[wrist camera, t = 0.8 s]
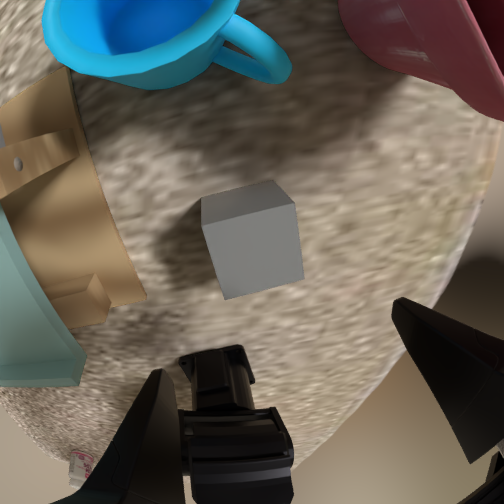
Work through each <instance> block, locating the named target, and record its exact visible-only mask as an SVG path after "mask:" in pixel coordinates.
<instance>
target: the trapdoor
mask: <svg viewBox="0 0 504 504" xmlns="http://www.w3.org/2000/svg"><path fill="white" fill-rule="evenodd" d="M3 147H6V145H5V141H4V137H3V133H2V129H1V124H0V148H3ZM86 358H87V354H86V353H85V352H84V350H83V349H82V348H81V346H80V345H79V344H78V342H77V341H76V340H75V338H74V337H73V336H72V334H71V333H70V332H69V330H68V329H67V327H66V326H65V324H64V323H63V321H62V320H61V319H60V317H59V316H58V314H57V313H56V311H55V309H54V308H53V306H52V305H51V303H50V302H49V300H48V298H47V297H46V295H45V293H44V292H43V290H42V288H41V287H40V285H39V283H38V281H37V280H36V278H35V276H34V274H33V273H32V271H31V269H30V267H29V265H28V263H27V261H26V259H25V257H24V255H23V253H22V251H21V249H20V247H19V245H18V243H17V241H16V239H15V237H14V234H13V232H12V230H11V228H10V225H9V223H8V221H7V218H6V216H5V213H4V211H3V208H2V206H1V203H0V387H67V386H79V383H80V379H81V375H82V372H83V368H84V365H85V361H86Z"/></svg>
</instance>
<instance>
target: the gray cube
mask: <svg viewBox="0 0 504 504" xmlns="http://www.w3.org/2000/svg"><path fill="white" fill-rule="evenodd" d="M201 226H202V230H203V233H204V236H205V240H206V243H207V246H208V249H209V253H210V256H211V259H212V262H213V265H214V268H215V272H216V275H217V278H218V281H219V284H220V287H221V290H222V293H223V296H224V299H225V300H228V299H232V298H236V297H239V296H243V295H247V294H251V293H255V292H259V291H263V290H266V289H270V288H274V287H277V286H281V285H285V284H288V283H292V282H296V281H299V280H303V279H304V270H303V262H302V253H301V245H300V237H299V229H298V222H297V215H296V207H295V203H294V201H293V200H292V199H291V198H290V197H289V196H288V195H287V194H286V193H285V192H284V191H283V190H282V189H281V188H280V187H279V186H278V185H277V183H276V182H275V181H274V180H270V181H266V182H261V183H257V184H253V185H248V186H244V187H240V188H236V189H232V190H228V191H224V192H220V193H216V194H212V195H209V196H205V197H201Z"/></svg>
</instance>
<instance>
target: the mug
mask: <svg viewBox="0 0 504 504" xmlns="http://www.w3.org/2000/svg"><path fill="white" fill-rule="evenodd" d="M239 2H240V0H46V2H45V6H44V11H43V16H42V27H43V33H44V39H45V43H46V45H47V46H48V48H49V49H50V51H51V52H52V53H53V55H54V56H55V58H56V59H57V61H59V62H60V63H62V64H64V65H66V66H68V67H69V68H71V69H73V70H75V71H76V72H78V73H81V74H85V75H90V76H94V77H98V78H102V79H106V80H109V81H113V82H117V83H120V84H124V85H127V86H131V87H136V88H140V89H145V90H157V89H169V88H172V87H174V86H177V85H180V84H183V83H186V82H188V81H190V80H191V79H193V78H194V77H196V76H198V75H199V74H201V73H202V72H204V71H205V70H206V69H207V68H208V67H209V65H210V64H211V63H212V62H214V63H216V64H219V65H221V66H223V67H226V68H228V69H230V70H233V71H235V72H237V73H240V74H242V75H245V76H247V77H250V78H253V79H255V80H258V81H262V82H265V83H268V84H281V83H283V82H285V81H286V80H287V79H288V77H289V75H290V74H291V72H292V64H291V62H290V60H289V58H288V56H287V54H286V52H285V51H284V50H283V49H282V48H281V47H280V46H279V45H278V44H277V43H276V42H275V41H274V40H273V39H272V38H271V37H270V36H268V35H267V34H266V33H264V32H263V31H262V30H260V29H259V28H258V27H256V26H255V25H253V24H252V23H250V22H249V21H247V20H246V19H244V18H242V17H240V16H238V15H236V14H235V12H236V10H237V7H238V5H239ZM225 40H227V41H229V42H231V43H232V44H234V45H235V46H237V47H239V48H240V49H242V50H243V51H245V52H246V53H248V54H249V55H251V56H252V57H254V58H255V59H254V58H251V57H248V56H245V55H243V54H241V53H238V52H236V51H233V50H231V49H229V48H226V47H224V46H223V44H224V41H225Z"/></svg>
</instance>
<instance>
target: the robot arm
mask: <svg viewBox="0 0 504 504" xmlns="http://www.w3.org/2000/svg"><path fill="white" fill-rule="evenodd" d="M391 316H392V321H393V323H394V325H395V327H396V329H397V331H398V333H399V335H400V337H401V339H402V341H403V343H404V345H405V347H406V349H407V351H408V352H409V354H410V356H411V357H412V359H413V361H414V362H415V364H416V366H417V367H418V369H419V371H420V372H421V374H422V375H423V377H424V379H425V381H426V382H427V384H428V386H429V387H430V389H431V391H432V393H433V394H434V396H435V398H436V400H437V401H438V403H439V405H440V407H441V409H442V410H443V412H444V414H445V416H446V418H447V420H448V421H449V424H450V425H451V427H452V429H453V431H454V433H455V435H456V437H457V439H458V441H459V443H460V445H461V447H462V449H463V451H464V453H465V455H466V458H467V460H468V462H469V463H470V464H471V463H473V462H474V461H476V460H477V459H479V458H480V457H481V456H482V455H484V454H485V453H487V452H488V451H489V450H490V449H492V448H493V447H494V446H495V445H496V446H497V447H498V449H499V451H498V452H497V453H496V454H494V455H493V456H492V459H491V463H490V467H489V471H488V475H487V477H486V482H485V483H484V484H483V485H481V486H480V487H479V488H478V489H476V490H475V491H474V492H472V493H471V494H470V495H468V496H467V497H466V498H464V499H463V500H462V501H460V502H459V503H457V504H504V340H501V339H499V338H496V337H493V336H491V335H488V334H486V333H484V332H481V331H479V330H477V329H474V328H472V327H470V326H468V325H466V324H464V323H461V322H459V321H457V320H455V319H453V318H450V317H448V316H446V315H443V314H441V313H439V312H437V311H435V310H432V309H430V308H428V307H425V306H423V305H421V304H419V303H416V302H414V301H412V300H409V299H407V298H405V297H401V298H398V299H396V300H394V302H393V307H392V314H391ZM179 365H180V366H181V368H182V370H183V371H184V373H185V374H186V376H187V377H188V379H189V381H190V382H191V391H192V411H188V410H184V409H178V410H177V404H176V398H175V391H174V384H173V382H172V380H171V378H170V377H169V376H168V374H167V373H166V371H165V370H164V369H162V368H161V369H155V370H153V371H152V372H151V373H150V375H149V377H148V379H147V380H146V382H145V384H144V385H143V387H142V389H141V390H140V392H139V394H138V396H137V397H136V399H135V401H134V402H133V404H132V406H131V408H130V409H129V411H128V413H127V415H126V416H125V418H124V420H123V421H122V423H121V425H120V427H119V428H118V430H117V432H116V434H115V436H114V437H113V441H111V442H110V444H109V446H108V448H107V449H106V451H105V453H104V454H103V456H102V458H101V459H100V461H99V462H98V464H97V465H96V467H95V468H94V469H93V471H92V472H91V474H90V475H89V476H88V478H87V479H86V481H85V482H84V484H83V485H82V486H81V487H80V489H79V490H78V491H76V492H75V493H74V494H72V495H70V496H68V497H65V498H63V499H60V500H58V501H56V502H53V503H50V504H186V503H185V494H184V484H183V476H190V480H191V490H192V497H193V500H194V501H195V502H196V503H197V504H290V503H291V501H292V498H293V496H294V492H293V486H292V481H291V472H290V468H291V467H292V465H293V461H294V449H293V443H292V440H291V437H290V435H289V433H288V431H287V429H286V427H285V425H284V423H283V421H282V419H281V417H280V415H279V413H278V411H277V409H276V407H269V408H266V409H255V407H254V402H253V397H252V393H251V388H250V385H251V384H254V383H255V378H254V375H253V372H252V369H251V367H250V364H249V361H248V358H247V355H246V352H245V349H244V347H243V346H242V345H236V346H232V347H227V348H223V349H219V350H214V351H210V352H205V353H200V354H195V355H190V356H185V357H181V358H180V359H179Z"/></svg>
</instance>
